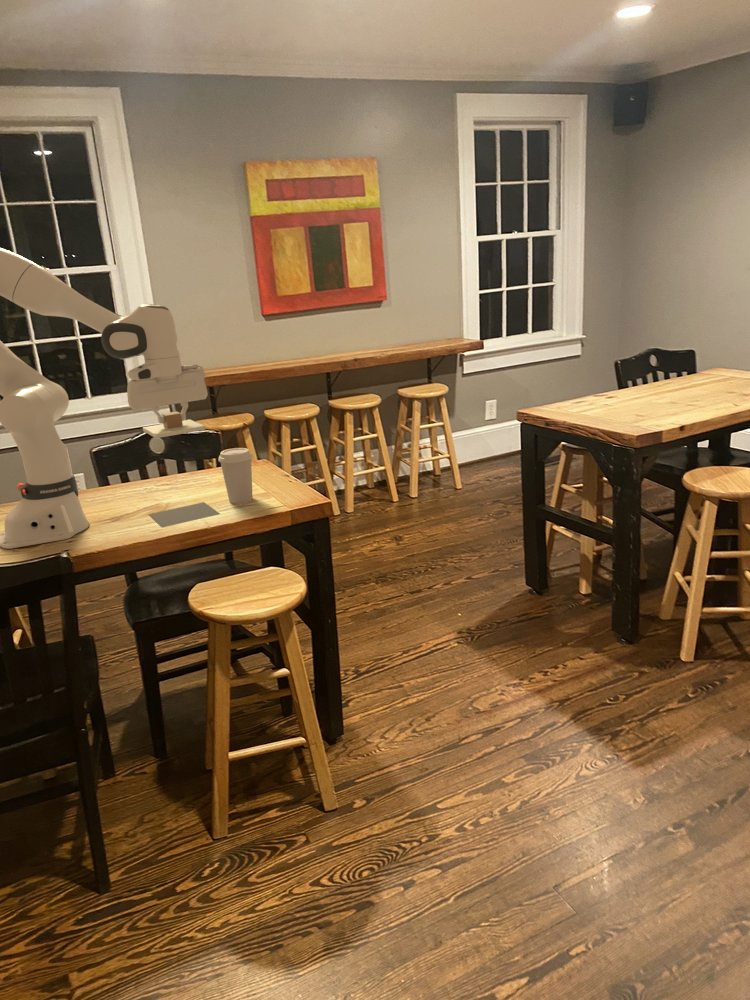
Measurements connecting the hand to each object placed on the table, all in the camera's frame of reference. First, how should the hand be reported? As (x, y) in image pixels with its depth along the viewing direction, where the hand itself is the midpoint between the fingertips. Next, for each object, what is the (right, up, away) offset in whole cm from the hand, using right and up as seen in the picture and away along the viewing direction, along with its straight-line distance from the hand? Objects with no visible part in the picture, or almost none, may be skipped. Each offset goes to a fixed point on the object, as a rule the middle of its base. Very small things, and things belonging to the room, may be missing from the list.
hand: (172, 421), depth 191 cm
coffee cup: (+15, -22, +16) cm, 31 cm away
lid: (0, -2, +1) cm, 2 cm away
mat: (+1, -25, +8) cm, 26 cm away
